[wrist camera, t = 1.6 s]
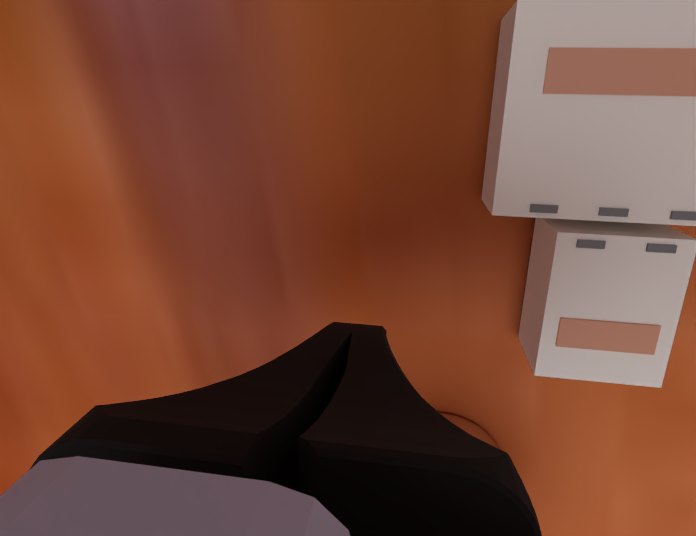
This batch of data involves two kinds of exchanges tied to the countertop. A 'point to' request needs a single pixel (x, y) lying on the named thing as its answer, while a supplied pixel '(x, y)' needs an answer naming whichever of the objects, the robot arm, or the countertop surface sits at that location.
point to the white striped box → (594, 112)
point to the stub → (604, 299)
